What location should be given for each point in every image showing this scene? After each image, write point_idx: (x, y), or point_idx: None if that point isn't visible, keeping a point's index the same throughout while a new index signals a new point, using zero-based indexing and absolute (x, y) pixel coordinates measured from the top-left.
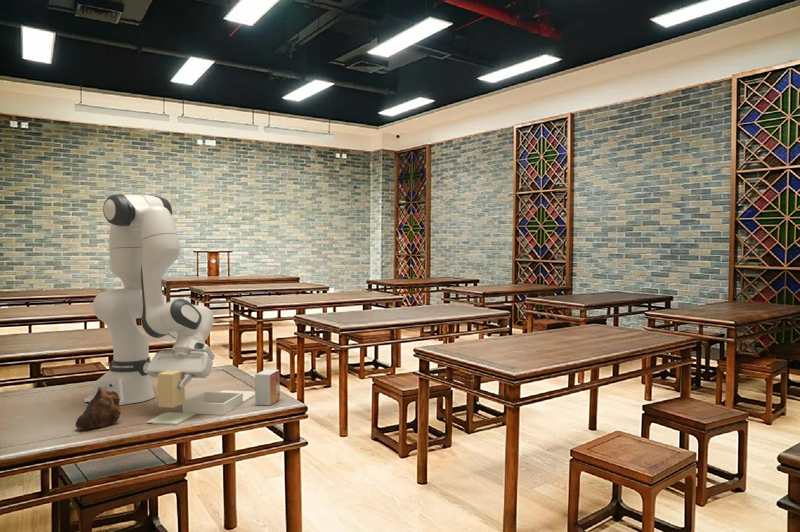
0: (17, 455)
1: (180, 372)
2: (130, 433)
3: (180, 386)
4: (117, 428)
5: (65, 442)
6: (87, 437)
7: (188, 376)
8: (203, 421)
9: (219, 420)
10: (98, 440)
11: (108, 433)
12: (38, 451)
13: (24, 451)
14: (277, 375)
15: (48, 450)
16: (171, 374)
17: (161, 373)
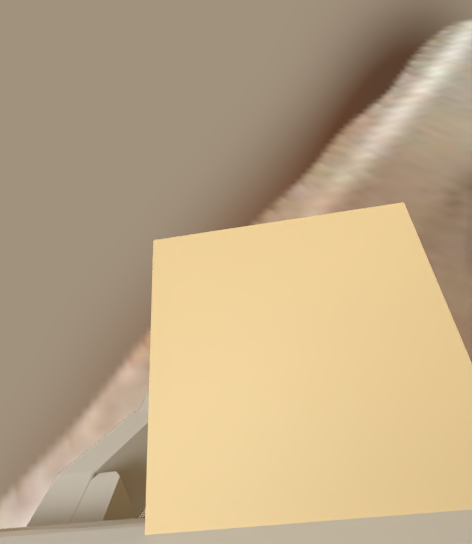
0: (451, 26)
1: (157, 480)
2: (314, 210)
3: None
4: (418, 233)
5: (440, 101)
6: (422, 143)
7: (56, 491)
8: (118, 417)
9: (50, 454)
10: (357, 140)
11: (393, 187)
12: (432, 51)
13: (469, 40)
14: None
15: (414, 62)
16: (171, 238)
17: (375, 245)
